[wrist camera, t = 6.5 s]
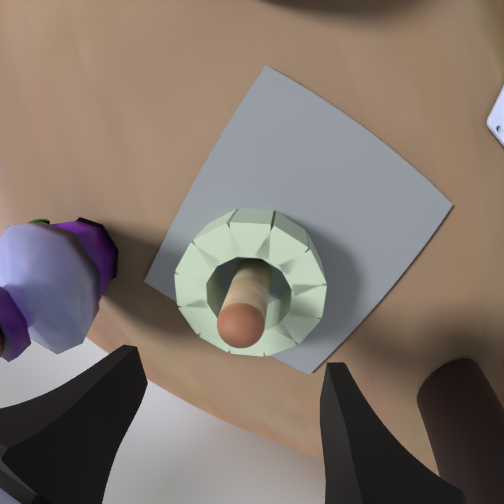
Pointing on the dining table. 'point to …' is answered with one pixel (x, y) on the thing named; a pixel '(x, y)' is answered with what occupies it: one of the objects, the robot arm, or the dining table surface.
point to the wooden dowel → (246, 304)
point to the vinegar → (465, 430)
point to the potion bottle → (52, 283)
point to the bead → (253, 246)
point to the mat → (311, 204)
